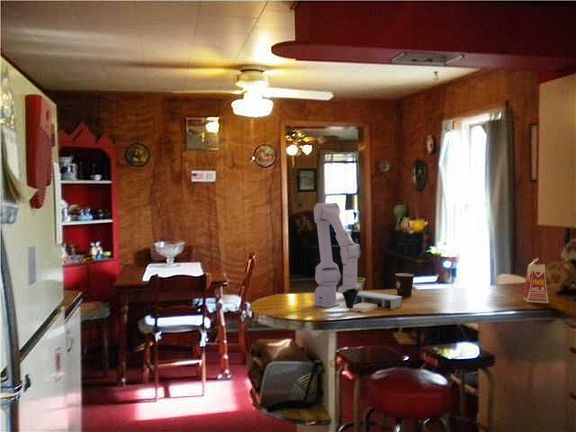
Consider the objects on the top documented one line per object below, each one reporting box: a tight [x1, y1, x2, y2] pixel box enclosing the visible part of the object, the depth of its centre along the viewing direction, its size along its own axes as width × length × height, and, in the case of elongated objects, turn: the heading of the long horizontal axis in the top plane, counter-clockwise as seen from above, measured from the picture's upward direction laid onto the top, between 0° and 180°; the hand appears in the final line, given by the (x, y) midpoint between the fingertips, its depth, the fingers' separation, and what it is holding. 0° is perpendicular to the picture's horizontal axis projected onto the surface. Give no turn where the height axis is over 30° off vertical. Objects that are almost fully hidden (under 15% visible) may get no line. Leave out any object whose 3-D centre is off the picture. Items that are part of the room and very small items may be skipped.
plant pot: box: [355, 277, 366, 292], centre depth 266 cm, size 9×9×9 cm
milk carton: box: [523, 257, 549, 304], centre depth 261 cm, size 9×9×20 cm
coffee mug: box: [393, 272, 415, 298], centre depth 272 cm, size 12×9×10 cm
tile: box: [348, 301, 378, 313], centre depth 240 cm, size 12×7×2 cm, turn 144°
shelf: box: [354, 290, 403, 310], centre depth 249 cm, size 8×20×4 cm, turn 52°
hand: (349, 308), depth 231 cm, fingers closed
